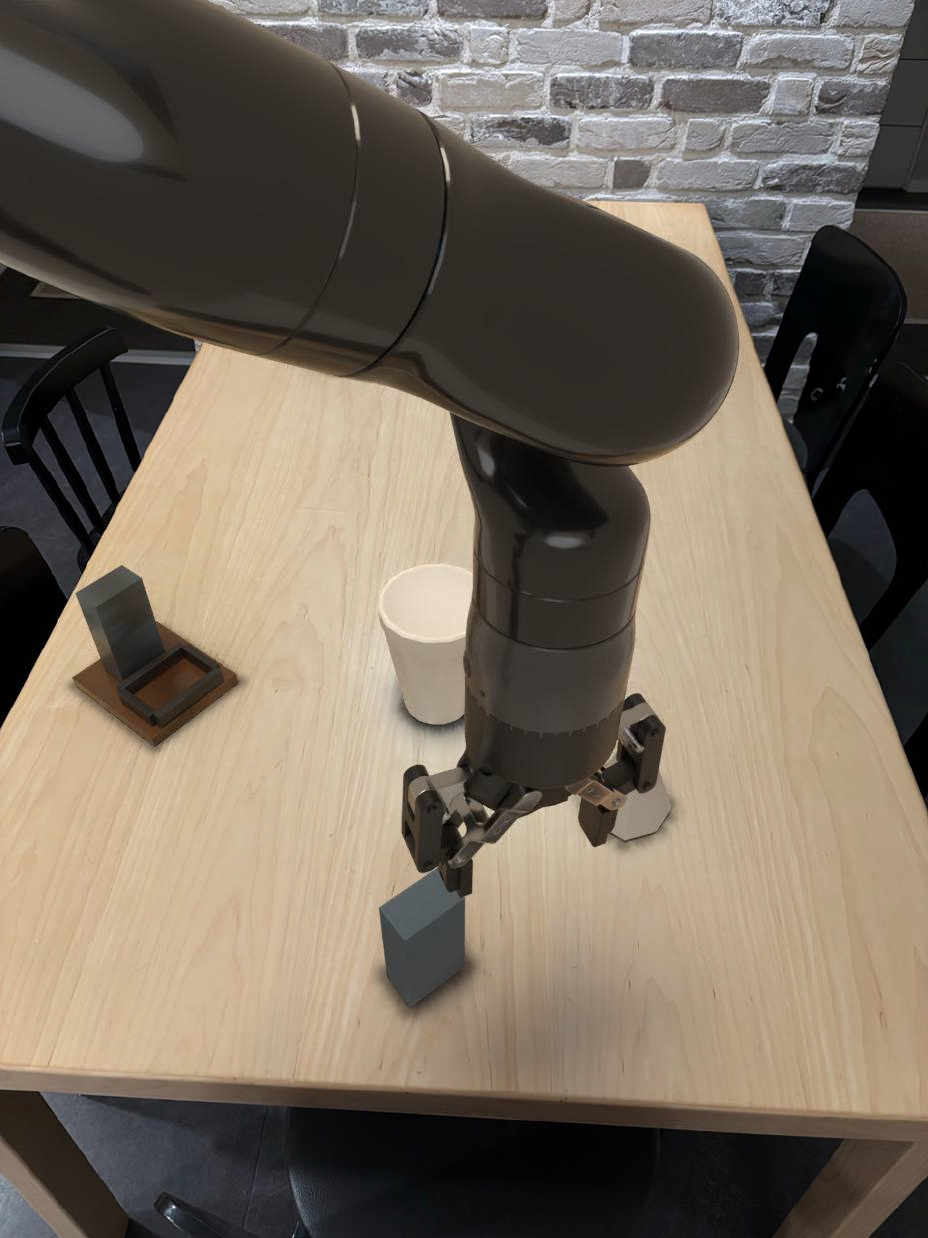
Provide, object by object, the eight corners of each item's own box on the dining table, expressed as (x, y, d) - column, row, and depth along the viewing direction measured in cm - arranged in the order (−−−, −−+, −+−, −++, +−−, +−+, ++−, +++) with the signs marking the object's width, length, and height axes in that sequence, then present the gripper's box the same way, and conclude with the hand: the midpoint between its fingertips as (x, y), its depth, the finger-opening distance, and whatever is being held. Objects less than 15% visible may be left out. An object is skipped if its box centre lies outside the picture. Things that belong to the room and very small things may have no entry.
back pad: (410, 1008, 65) (404, 941, 58) (384, 974, 67) (376, 905, 60) (465, 967, 68) (465, 897, 61) (439, 935, 69) (437, 864, 63)
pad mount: (154, 746, 82) (123, 660, 75) (75, 685, 88) (38, 599, 80) (238, 682, 88) (217, 596, 80) (159, 629, 93) (132, 543, 86)
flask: (624, 855, 74) (641, 782, 68) (566, 796, 79) (576, 721, 72) (686, 812, 78) (708, 737, 71) (627, 757, 82) (643, 681, 75)
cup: (376, 673, 89) (367, 571, 80) (476, 656, 91) (478, 555, 82) (395, 752, 82) (387, 650, 73) (502, 732, 84) (507, 630, 75)
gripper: (432, 775, 37) (436, 960, 48) (723, 677, 41) (666, 869, 53) (373, 653, 42) (389, 847, 54) (638, 577, 46) (602, 771, 58)
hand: (526, 857), depth 53 cm, fingers open, 8 cm apart
